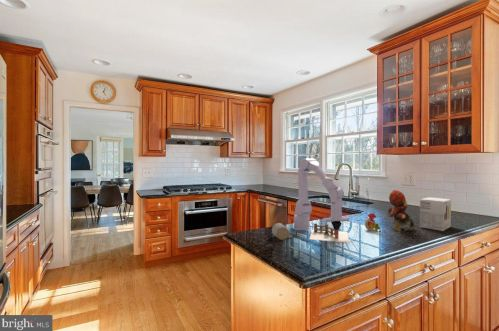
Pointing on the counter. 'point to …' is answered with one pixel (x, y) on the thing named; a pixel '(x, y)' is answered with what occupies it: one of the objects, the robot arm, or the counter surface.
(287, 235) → the ceramic mug
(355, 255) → the counter surface
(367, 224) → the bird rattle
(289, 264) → the counter surface
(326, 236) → the card
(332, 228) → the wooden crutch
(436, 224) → the supplement box
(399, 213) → the stuffed monkey
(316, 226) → the frame
